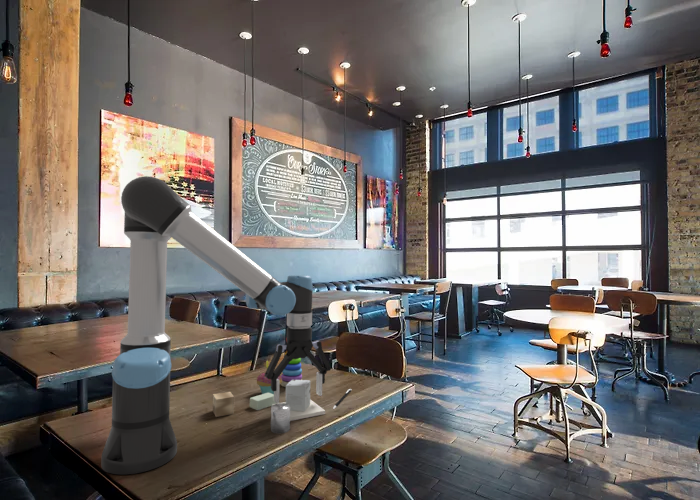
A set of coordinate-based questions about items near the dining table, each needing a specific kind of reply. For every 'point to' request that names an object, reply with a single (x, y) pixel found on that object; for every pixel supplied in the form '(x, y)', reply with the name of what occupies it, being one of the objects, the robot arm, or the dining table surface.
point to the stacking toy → (291, 371)
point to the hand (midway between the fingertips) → (298, 398)
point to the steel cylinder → (280, 418)
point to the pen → (342, 399)
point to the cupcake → (266, 382)
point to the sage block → (262, 401)
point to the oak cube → (223, 404)
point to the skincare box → (298, 394)
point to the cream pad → (306, 411)
